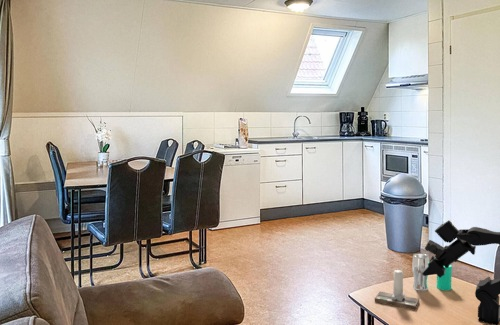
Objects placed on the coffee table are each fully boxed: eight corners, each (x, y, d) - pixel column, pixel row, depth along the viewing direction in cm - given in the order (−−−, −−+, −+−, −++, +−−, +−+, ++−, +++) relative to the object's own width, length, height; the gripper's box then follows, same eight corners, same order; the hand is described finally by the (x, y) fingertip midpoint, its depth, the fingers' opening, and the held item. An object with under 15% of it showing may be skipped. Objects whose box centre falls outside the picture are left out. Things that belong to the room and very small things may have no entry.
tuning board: (419, 302, 175) (419, 298, 175) (415, 310, 168) (415, 305, 168) (379, 294, 183) (379, 291, 183) (374, 301, 177) (374, 297, 177)
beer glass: (408, 286, 191) (409, 254, 190) (421, 284, 193) (422, 252, 192) (419, 292, 185) (419, 259, 183) (432, 290, 187) (432, 257, 185)
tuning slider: (404, 296, 177) (404, 270, 175) (400, 302, 171) (401, 275, 170) (394, 294, 179) (394, 268, 178) (390, 300, 173) (391, 273, 172)
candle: (452, 290, 186) (453, 264, 184) (438, 290, 187) (438, 263, 186) (449, 285, 191) (450, 259, 190) (435, 284, 193) (435, 259, 191)
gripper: (441, 229, 173) (413, 252, 180) (434, 241, 157) (403, 265, 164) (463, 251, 169) (432, 273, 176) (457, 265, 154) (424, 289, 160)
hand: (423, 274), depth 169 cm, fingers closed
